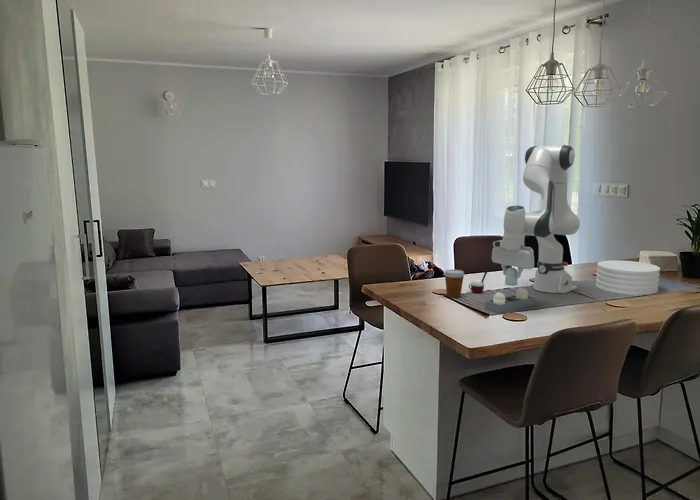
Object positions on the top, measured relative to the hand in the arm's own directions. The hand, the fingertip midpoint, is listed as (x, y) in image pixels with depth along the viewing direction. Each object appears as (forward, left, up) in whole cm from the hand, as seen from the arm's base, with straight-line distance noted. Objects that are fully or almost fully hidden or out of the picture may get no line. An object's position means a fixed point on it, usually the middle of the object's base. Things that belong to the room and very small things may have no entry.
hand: (511, 276), depth 231 cm
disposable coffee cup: (+4, -30, -15) cm, 34 cm away
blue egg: (0, 0, -4) cm, 4 cm away
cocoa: (-11, -29, -15) cm, 34 cm away
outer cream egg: (+7, 0, -14) cm, 15 cm away
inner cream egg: (-7, 0, -14) cm, 16 cm away
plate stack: (-80, +6, -15) cm, 81 cm away
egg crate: (0, 0, -15) cm, 15 cm away
